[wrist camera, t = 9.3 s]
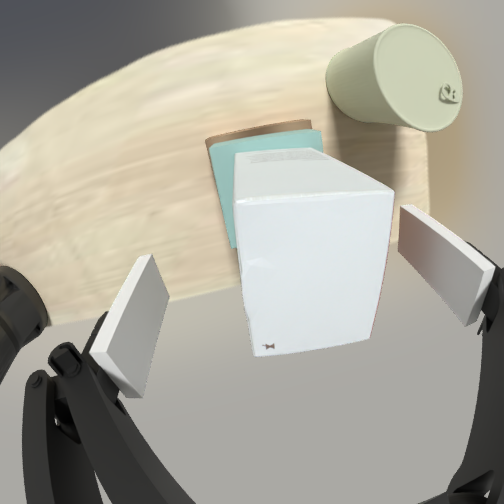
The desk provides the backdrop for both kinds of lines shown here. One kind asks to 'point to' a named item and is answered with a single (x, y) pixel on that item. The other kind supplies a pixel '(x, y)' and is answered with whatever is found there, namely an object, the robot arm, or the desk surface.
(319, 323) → the small box
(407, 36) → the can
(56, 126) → the desk surface
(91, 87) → the desk surface
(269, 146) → the top slab
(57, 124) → the desk surface
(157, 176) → the desk surface
